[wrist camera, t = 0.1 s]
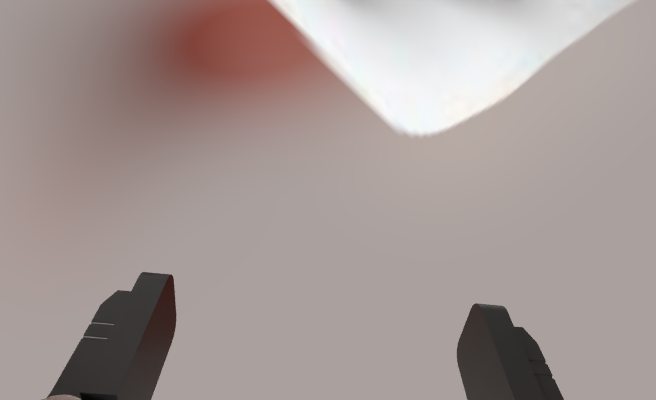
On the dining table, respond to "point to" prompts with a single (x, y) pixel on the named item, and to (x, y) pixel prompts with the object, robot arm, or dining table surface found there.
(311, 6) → the dining table surface
